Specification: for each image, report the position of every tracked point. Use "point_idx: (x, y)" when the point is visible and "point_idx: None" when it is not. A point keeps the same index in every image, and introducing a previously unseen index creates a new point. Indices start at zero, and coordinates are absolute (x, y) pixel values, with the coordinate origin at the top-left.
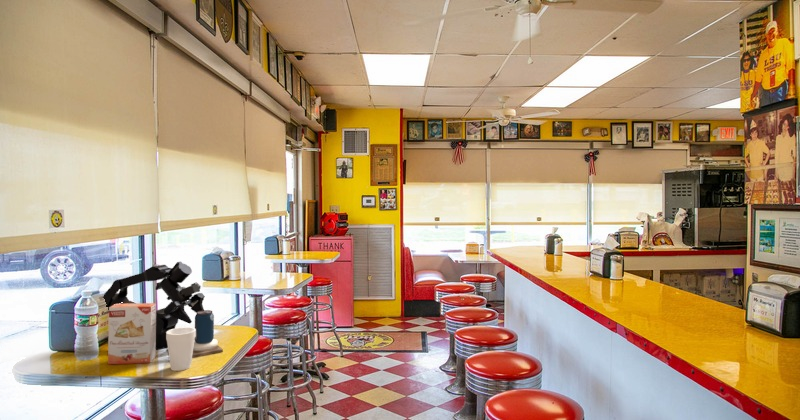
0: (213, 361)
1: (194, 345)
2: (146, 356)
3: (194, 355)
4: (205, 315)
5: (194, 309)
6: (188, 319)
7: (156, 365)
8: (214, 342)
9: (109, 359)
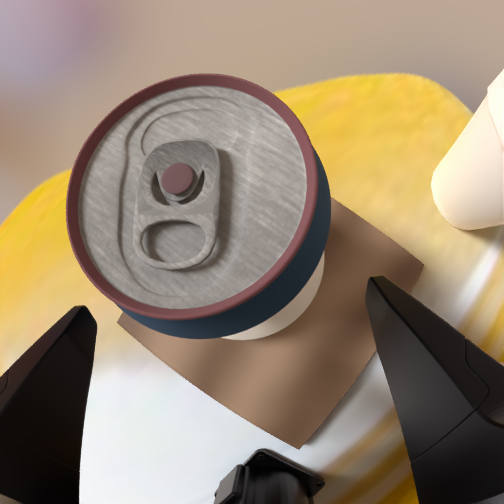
0: (361, 116)
1: (318, 264)
2: None
3: (363, 221)
4: (273, 107)
5: (65, 476)
6: (410, 304)
7: (478, 306)
8: None
9: None
